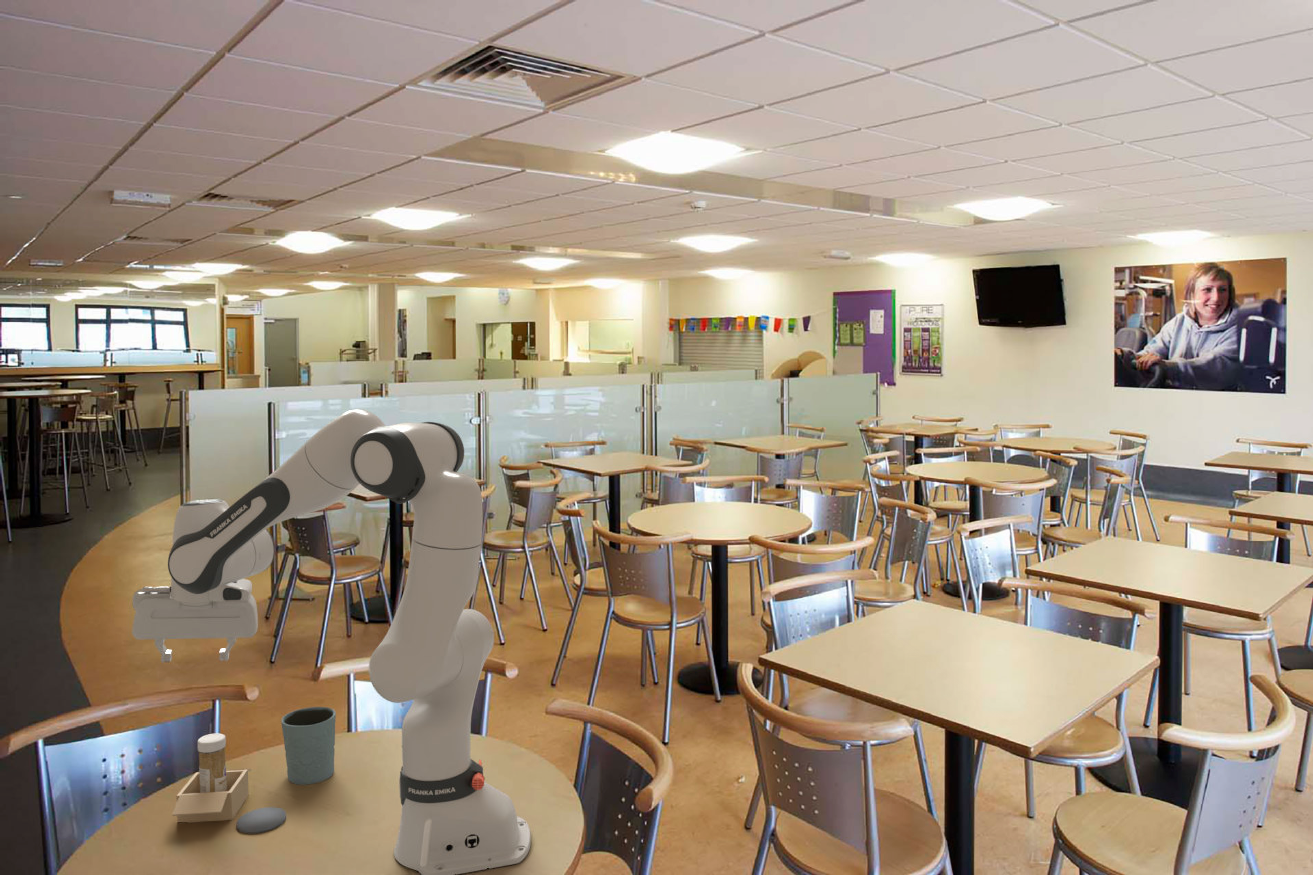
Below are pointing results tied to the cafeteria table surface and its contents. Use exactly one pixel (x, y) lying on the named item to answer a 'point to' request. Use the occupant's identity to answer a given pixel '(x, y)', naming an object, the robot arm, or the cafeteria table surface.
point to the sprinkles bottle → (212, 763)
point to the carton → (212, 799)
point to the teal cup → (309, 744)
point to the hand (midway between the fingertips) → (195, 660)
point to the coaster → (261, 820)
